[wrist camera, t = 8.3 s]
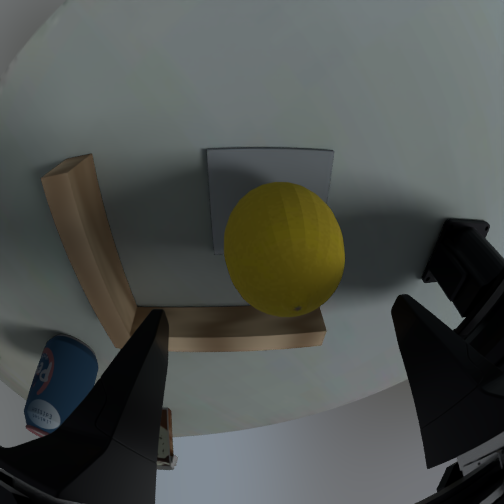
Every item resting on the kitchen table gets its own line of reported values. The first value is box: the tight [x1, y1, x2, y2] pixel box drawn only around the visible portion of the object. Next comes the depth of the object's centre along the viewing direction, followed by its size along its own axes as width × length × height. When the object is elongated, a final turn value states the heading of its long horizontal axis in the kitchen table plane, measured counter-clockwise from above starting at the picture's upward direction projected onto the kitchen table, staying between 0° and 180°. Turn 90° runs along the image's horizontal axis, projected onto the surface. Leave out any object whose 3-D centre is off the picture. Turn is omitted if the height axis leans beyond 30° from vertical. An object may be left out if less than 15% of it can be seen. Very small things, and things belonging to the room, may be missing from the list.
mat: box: [207, 147, 334, 255], centre depth 16 cm, size 7×7×1 cm
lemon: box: [224, 182, 345, 317], centre depth 13 cm, size 6×6×8 cm
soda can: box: [24, 334, 98, 437], centre depth 21 cm, size 7×7×12 cm
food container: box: [157, 408, 178, 470], centre depth 34 cm, size 12×6×10 cm, turn 100°
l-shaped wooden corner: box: [41, 154, 326, 352], centre depth 17 cm, size 17×15×3 cm
